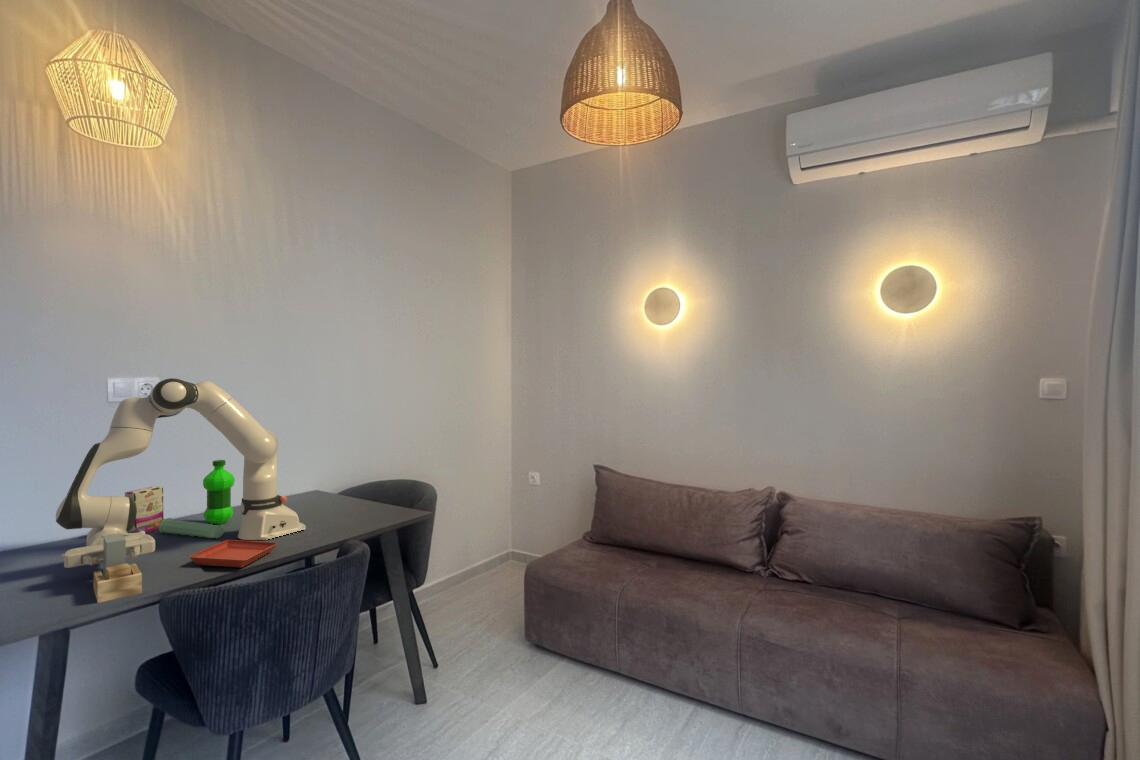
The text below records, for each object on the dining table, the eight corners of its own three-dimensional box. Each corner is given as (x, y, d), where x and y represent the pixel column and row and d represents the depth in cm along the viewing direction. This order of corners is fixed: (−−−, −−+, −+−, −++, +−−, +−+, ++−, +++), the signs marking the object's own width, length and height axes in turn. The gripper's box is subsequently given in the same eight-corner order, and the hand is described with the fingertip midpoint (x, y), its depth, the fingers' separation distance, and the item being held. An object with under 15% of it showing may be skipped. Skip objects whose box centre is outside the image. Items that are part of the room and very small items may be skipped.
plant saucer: (278, 551, 181) (278, 541, 181) (244, 570, 163) (244, 559, 163) (226, 549, 182) (226, 539, 182) (187, 567, 164) (187, 556, 164)
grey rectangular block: (121, 581, 154) (121, 533, 154) (125, 589, 149) (125, 539, 148) (103, 585, 151) (103, 536, 151) (106, 593, 146) (106, 542, 146)
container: (224, 521, 196) (170, 514, 202) (210, 531, 190) (155, 524, 196) (229, 533, 198) (175, 527, 204) (216, 544, 193) (161, 537, 199)
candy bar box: (153, 527, 206) (153, 485, 205) (164, 528, 205) (164, 486, 204) (123, 536, 195) (124, 491, 194) (135, 537, 194) (135, 492, 193)
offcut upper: (127, 574, 147) (127, 563, 147) (130, 577, 144) (130, 566, 144) (105, 578, 143) (105, 567, 143) (109, 582, 141) (109, 571, 141)
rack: (135, 584, 152) (135, 563, 152) (141, 596, 144) (141, 574, 144) (93, 593, 146) (93, 571, 146) (97, 606, 138) (97, 583, 138)
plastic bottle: (214, 518, 219) (215, 458, 218) (239, 519, 218) (240, 459, 218) (196, 526, 209) (197, 462, 208) (222, 526, 208) (223, 463, 208)
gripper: (60, 543, 152) (63, 556, 143) (150, 529, 167) (158, 539, 158) (60, 565, 152) (63, 579, 143) (150, 549, 167) (158, 560, 158)
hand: (114, 558), depth 150 cm, fingers open, 7 cm apart
